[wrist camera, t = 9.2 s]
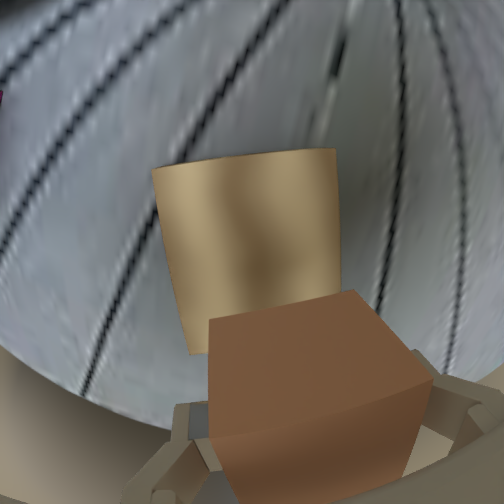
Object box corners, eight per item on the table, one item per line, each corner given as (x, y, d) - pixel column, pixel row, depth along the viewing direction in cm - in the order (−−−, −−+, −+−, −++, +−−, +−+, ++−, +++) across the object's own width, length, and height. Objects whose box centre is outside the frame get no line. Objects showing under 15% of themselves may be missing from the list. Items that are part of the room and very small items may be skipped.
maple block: (317, 147, 24) (335, 148, 20) (325, 308, 28) (340, 331, 24) (161, 166, 23) (151, 169, 19) (192, 328, 27) (189, 354, 23)
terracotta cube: (353, 289, 10) (433, 378, 6) (352, 391, 12) (399, 481, 7) (208, 319, 10) (208, 438, 5) (236, 418, 12) (249, 521, 7)
